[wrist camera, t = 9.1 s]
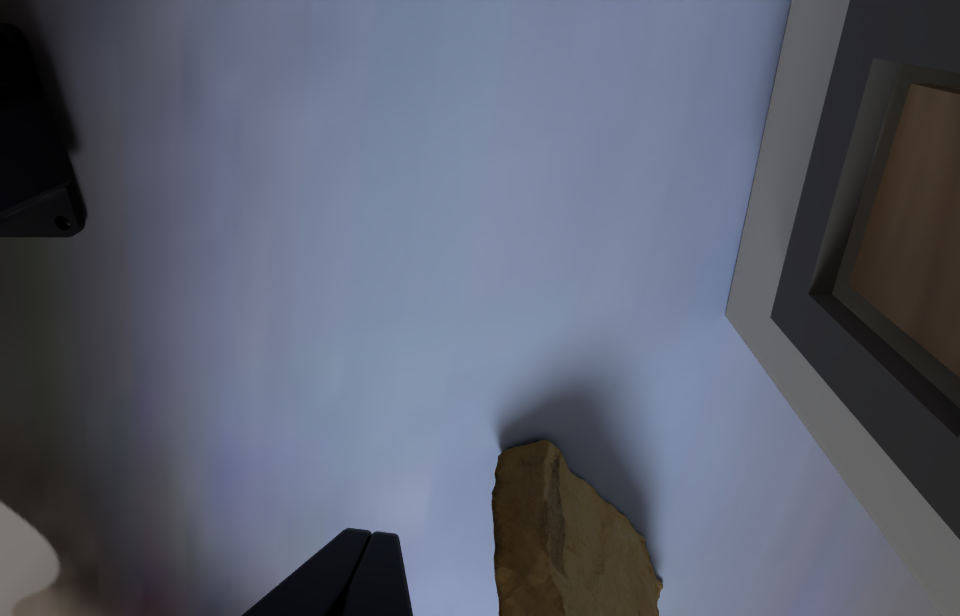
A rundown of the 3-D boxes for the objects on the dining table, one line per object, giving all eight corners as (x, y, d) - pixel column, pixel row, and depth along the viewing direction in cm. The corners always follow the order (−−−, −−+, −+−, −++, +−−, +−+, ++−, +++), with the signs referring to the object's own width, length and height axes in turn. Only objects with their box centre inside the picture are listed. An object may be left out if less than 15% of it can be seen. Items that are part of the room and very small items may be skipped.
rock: (422, 464, 23) (426, 662, 26) (590, 619, 16) (566, 853, 20) (618, 388, 29) (600, 555, 32) (796, 477, 22) (750, 675, 26)
